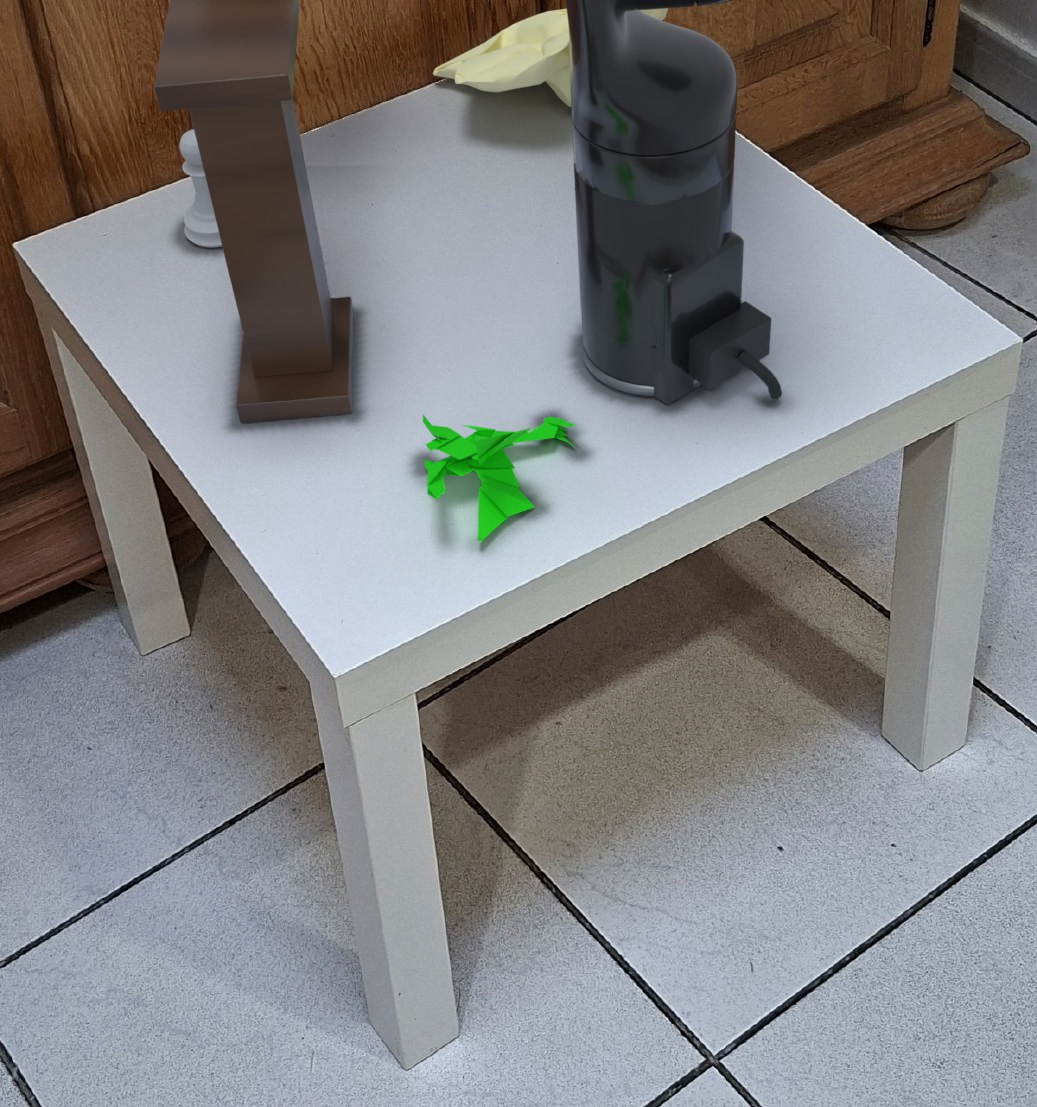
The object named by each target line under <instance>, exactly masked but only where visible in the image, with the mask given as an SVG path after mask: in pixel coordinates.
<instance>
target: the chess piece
mask: <svg viewBox="0 0 1037 1107" xmlns="http://www.w3.org/2000/svg"><path fill="white" fill-rule="evenodd" d="M178 144H179V146H178V149H179V151H180V154H181V156H182V157H183V159H184V160H185V161H184V162H183V163H182V166H181V168H182V171H183V173H185V175H188V176H190V177H191V180H192V183H193V187H194V190H195V197H194V202H193V203H192V205H191V206H190V207H189V208H188V209H187V210H186V211H185V213H184V215H183V222H184V230H183V232H184V235H185V237H186V238H187V239H188V240H189V241H190V242H192V243H193V244H195V245H197V246H199V247H202V248H210V249H212V248H223V247H222V243H221V239H220V235H219V231H218V226H217V222H216V218H215V214H214V210H213V206H212V202H211V198H210V194H209V189H208V185H207V181H206V177H205V173H204V169H203V165H202V161H201V156H200V152H199V148H198V144H197V140H196V136H195V132H194V128H192V129H189V130H188V131H186V132H184V133H183V134H182V135H181V137H180V140H179V143H178Z"/></svg>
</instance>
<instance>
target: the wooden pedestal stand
mask: <svg viewBox="0 0 1037 1107" xmlns="http://www.w3.org/2000/svg"><path fill="white" fill-rule="evenodd" d="M299 13H300V2H299V0H169V4H168V9H167V13H166V14H167V15H166V20H165V25H164V31H163V36H162V41H161V46H160V52H159V58H158V63H157V69H156V75H155V80H154V85H153V89H154V93H155V97H156V101H157V105H158V108H159V111H160V112H169V111H170V112H171V111H181V110H182V111H183V110H189V115H190V119H191V124H192V127H193V128H192V129H194V132H195V136H196V140H197V144H198V148H199V152H200V156H201V161H202V165H203V169H204V173H205V177H206V181H207V185H208V189H209V194H210V198H211V202H212V206H213V210H214V214H215V218H216V222H217V226H218V231H219V235H220V239H221V243H222V247H221V248H222V251H223V254H224V255H223V256H224V260H225V263H226V264H225V265H226V267H227V272H228V276H229V279H230V284H231V288H232V293H233V296H234V301H235V304H236V308H237V313H238V316H239V321H240V325H241V329H242V330H241V331H242V340H241V341H242V342H241V350H240V361H239V372H238V381H237V392H236V403H235V408H236V411H237V416H238V418H239V422H240V424H246V423H257V422H269V421H281V420H291V419H292V420H293V419H302V418H304V419H305V418H315V417H316V418H317V417H327V416H336V415H337V416H338V415H348V414H352V412H353V376H354V375H353V373H354V372H353V371H354V370H353V369H354V328H355V324H354V323H355V312H354V306H353V301H352V300H353V299H352V297H351V296H341V297H340V296H339V297H331V294H330V288H329V282H328V277H327V271H326V266H325V261H324V256H323V251H322V245H321V241H320V240H321V239H320V235H319V229H318V224H317V219H316V213H315V208H314V203H313V197H312V192H311V188H310V181H309V176H308V171H307V166H306V161H305V155H304V149H303V145H302V140H301V134H300V130H299V129H300V128H299V124H298V123H299V122H298V118H297V113H296V108H295V107H296V106H295V103H294V97H293V95H294V84H295V83H294V82H295V69H296V57H297V56H296V55H297V44H298V43H297V42H298V30H299V29H298V28H299V15H300V14H299Z"/></svg>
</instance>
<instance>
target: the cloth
mask: <svg viewBox="0 0 1037 1107" xmlns="http://www.w3.org/2000/svg"><path fill="white" fill-rule="evenodd" d="M640 11H642V12H643V13H645V14H647V15H649V16H651V17H654V18H656V19H659V20H661V21H665V19H666V17H667V14H668V11H669V8H666V9H650V10H640ZM432 75H433V76H435V77H440V78H444V79H445V78H446V79H452V80H454V83H455V84H456V85H466V86H469V87H472V88H474V89H477V90H480V91H482V92H490V93H501V92H506V91H511V90H515V89H516V90H517V89H522V88H527V87H533V86H538V85H542V84H543V83H544V82H545V83H546V84H547V85H548V86H549V87H550V88H551V89H552V90H553V92H554V93H555V94H556V95H557V97H558V98H559V99H560V100H561V102H563V103H564V104H565V105H566V106H567V107H568V108H571V73H570V45H569V28H568V17H567V8H563V9H555V10H547V11H545V12H541V13H537V14H535V15H532V16H530V17H527V18H524V19H522V20H520V21H517V22H515V23H513V24H511V25H509V26H508V27H506V28H504V29H501V30H500V31H499V32H498V33H496V34H495V35H493V36H492V37H491V38H489V39H487V40H486V41H484V42H483V43H481V44H479V45H477V46H475V47H473V48H471V49H469V50H468V51H465V52H464V53H462V54H460V55H458V56H456V57H454V58H452V59H450V60H448V61H446V62H444V63H442V64H440V65H438V66H437V67H435V68H434V70H433V72H432Z"/></svg>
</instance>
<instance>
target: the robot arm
mask: <svg viewBox="0 0 1037 1107" xmlns="http://www.w3.org/2000/svg"><path fill="white" fill-rule="evenodd" d="M732 1H733V0H565V7H566V8H565V9H567V17H568V28H569V45H570V73H571V107H570V109H571V110H570V112H571V131H572V132H571V134H572V135H571V136H572V152H573V153H572V154H573V155H572V156H573V176H574V177H573V180H574V197H575V198H574V199H575V216H576V218H575V220H576V235H577V236H576V241H577V242H576V243H577V257H578V258H577V259H578V261H577V262H578V279H579V280H578V281H579V283H578V284H579V299H580V301H579V302H580V313H581V314H580V315H581V331H582V332H581V336H580V350H581V356H582V360H583V362H584V365H585V367H586V368H587V369H588V371H589V372H590V373H591V374H592V375H593V376H594V377H595V378H596V379H597V380H598V381H600V382H601V383H603V384H605V385H607V386H608V387H610V388H613V389H615V390H617V391H620V392H623V393H628V394H632V395H638V396H647V397H649V396H651V397H654V398H656V399H658V400H659V401H661V402H663V403H664V404H672V403H673V402H674V401H675V402H676V401H677V400H678V399H680V398H681V397H683V396H685V395H687V394H689V393H690V392H692V391H693V390H695V389H696V388H699V387H700V386H704V387H706V388H707V389H708V390H711V391H712V390H713V389H715V388H716V387H718V386H719V385H721V384H722V383H725V382H726V381H727V380H729V379H731V378H732V377H734V376H736V375H738V374H739V373H741V372H742V371H744V370H746V369H748V370H749V371H751V373H753V374H755V375H756V376H757V377H758V378H759V379H760V380H761V381H762V382H763V383H764V384H765V386H766V387H767V389H768V394H769V397H770V398H771V399H772V400H777V399H778V400H779V398H781V397H782V394H783V392H782V386H781V384H780V382H779V380H778V379H777V377H776V376H775V374H774V373H773V372H772V371H771V370H770V369H769V368H768V367H767V366H765V365H764V364H763V363H762V362H761V361H760V360H762V359H764V358H766V357H767V356H769V355H770V349H771V346H770V345H771V333H772V332H771V331H772V330H771V329H772V317H770V316H769V315H767V313H765V312H763V311H761V310H760V309H758V308H757V307H755V306H753V305H752V304H751V303H749V302H747V301H746V300H745V301H743V302H742V300H743V298H742V297H743V296H742V295H743V274H744V273H743V272H744V248H745V242H744V238H742V236H740V234H737V233H736V232H734V231H733V210H734V184H735V183H734V182H735V180H734V177H735V156H736V155H735V154H736V126H737V108H738V107H737V106H738V105H737V104H738V77H737V76H738V75H737V72H736V67H735V64H734V62H733V60H732V58H731V57H730V55H729V53H728V52H727V51H726V50H725V49H724V48H723V47H722V46H721V45H719V44H718V42H716V41H715V40H713V39H711V38H710V37H708V36H706V35H704V34H702V33H699V32H697V31H695V30H692V29H690V28H686V27H683V26H679V25H677V24H673V23H669V22H667V21H665V20H663V21H661V20H659V19H656V18H654V17H651V16H649V15H647V14H645V13H643V12H642V11H640V10H650V9H666V8H668V9H677V8H678V9H679V8H693V7H694V6H696V7H703V6H712V5H713V6H714V5H719V4H720V5H721V4H725V3H728V2H732Z"/></svg>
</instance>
